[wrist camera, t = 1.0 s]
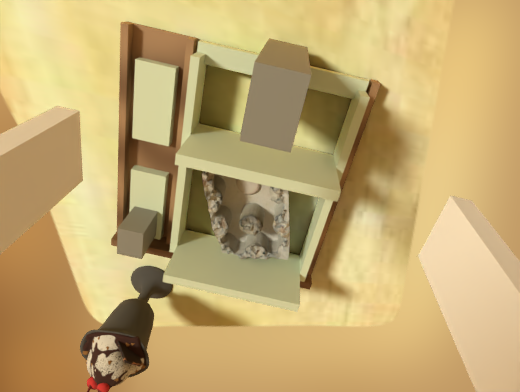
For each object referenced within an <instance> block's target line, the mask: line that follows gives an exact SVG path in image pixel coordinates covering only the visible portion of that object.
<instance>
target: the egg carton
mask: <svg viewBox="0 0 520 392" xmlns="http://www.w3.org/2000/svg"><path fill="white" fill-rule="evenodd" d="M202 178H203V186H204V193H205V197H206V200H207V201H208V210H209V213H210V218H211V224H212V229H213V231H214V233H215V236H216V238H217V239H218V242H219V244H220V245H221V248H222V253H227V254H230V253H232V254H235V255H237V256H239V257H240V258H241V259H245V258H249V257H250V258H254V259H258V258H260V259H266V260H267V259H269V258H272V257H274V258H276V259H284V260H287V259H288V257H289V247H290V225H289V193H288V190H284V189H279V188H275V187H270V186H266V185H262V184H257V183H253V182H249V181H244V180H240V179H236V178H231V177H227V176H222V175H218V174H214V173H209V172H205V171H203V172H202Z"/></svg>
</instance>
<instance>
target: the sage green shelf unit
mask: <svg viewBox="0 0 520 392" xmlns="http://www.w3.org/2000/svg"><path fill="white" fill-rule="evenodd" d="M206 65H210V66H214V67H219V68H223V69H227V70H231V71H236V72H240V73H244V74H248V75H252V78H251V83H250V88H249V93H248V99H247V104H246V109H245V114H244V120H243V125H242V130H241V133H238V132H234V131H230V130H225V129H221V128H217V127H212V126H208V125H204V124H199V119H200V112H201V104H202V96H203V89H204V81H205V73H206ZM368 84H369V81H368V79H365V78H360V77H356V76H352V75H348V74H343V73H339V72H335V71H331V70H326V69H322V68H318V67H314V66H310V62H309V55H308V49H307V47H303V46H299V45H295V44H291V43H286V42H282V41H278V40H274V39H269V40H268V42H267V43H266V45H265V46H264V48H263V49H262V51H261V52H260V54H259V53H254V52H250V51H246V50H242V49H238V48H233V47H229V46H225V45H221V44H216V43H212V42H208V41H204V40H200V41H198V47H197V52H196V53H194V54H192V55H191V56H190V65H189V75H188V84H187V93H186V102H185V112H184V121H183V130H182V139H181V148H180V149H179V150H178V151H177V153H176V157H175V165H179V167H178V176H177V186H176V195H175V204H174V213H173V223H172V232H171V241H170V250H169V252H173V253H174V254H173V256H172V258H171V260H170V262H169V264H168V266H167V268H166V270H165V272H164V274H163V282H165V283H170V284H174V285H179V286H183V287H188V288H192V289H197V290H201V291H206V292H210V293H215V294H219V295H224V296H228V297H233V298H237V299H242V300H246V301H251V302H255V303H260V304H264V305H269V306H273V307H278V308H282V309H287V310H291V311H296V312H298V309H299V306H300V281H302V282H304V281H305V279H306V276H307V273H308V270H309V267H310V265H311V262H312V259H313V256H314V253H315V251H316V248H317V245H318V242H319V239H320V237H321V234H322V231H323V228H324V225H325V223H326V220H327V217H328V214H329V211H330V208H331V206H332V203H333V201H336V202H338V199H339V196H340V193H341V189H340V184H339V183H340V180H341V178H342V175H343V172H344V169H345V166H346V164H347V161H348V158H349V155H350V152H351V150H352V147H353V144H354V141H355V138H356V136H357V133H358V130H359V127H360V124H361V122H362V119H363V116H364V113H365V110H366V107H367V105H368V102H369V99H370V97H369V96H368V94H367V93H366V90H367V87H368ZM308 89H312V90H316V91H321V92H325V93H329V94H334V95H338V96H342V97H346V98H351V99H352V100H351V103H350V106H349V109H348V112H347V115H346V118H345V121H344V124H343V127H342V130H341V133H340V136H339V139H338V142H337V145H336V148H335V151H334V154H329V153H325V152H320V151H316V150H312V149H307V148H303V147H299V146H294V145H293V142H294V138H295V135H296V131H297V127H298V123H299V120H300V116H301V112H302V109H303V105H304V101H305V97H306V94H307V90H308ZM193 169H196V170H201V171H205V172H209V173H214V174H218V175H222V176H227V177H231V178H236V179H240V180H244V181H249V182H253V183H257V184H262V185H266V186H270V187H275V188H279V189H284V190H288V191H292V192H297V193H301V194H305V195H310V196H314V197H319V199H318V202H317V205H316V208H315V211H314V214H313V217H312V220H311V223H310V226H309V229H308V232H307V235H306V238H305V241H304V244H303V247H302V250H301V253H300V255H297V254H292V253H289V257H288V259H287V260H284V259H276V258H274V257H272V258H269V259H267V260H266V259H260V258H258V259H254V258H250V257H249V258H245V259H241V258H240V257H239V256H237V255H235V254H232V253H230V254H227V253H222V248H221V245H220V244H219V242H218V239H217V238H216V236H212V235H208V234H203V233H199V232H195V231H190V230H186V229H185V227H186V219H187V211H188V204H189V196H190V188H191V181H192V173H193Z"/></svg>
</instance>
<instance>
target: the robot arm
mask: <svg viewBox="0 0 520 392" xmlns="http://www.w3.org/2000/svg"><path fill="white" fill-rule="evenodd" d="M82 181H83V176H82V156H81V135H80V115H79V111H77V110H73V109H69V108H64V107H60V106H56V107H54V108H52V109H50V110H48V111H46V112H44V113H42V114H40V115H38V116H36V117H34V118H32V119H30V120H28V121H26V122H24V123H22V124H20V125H18V126H16V127H14V128H12V129H10V130H8V131H6V132H4V133H2V134H0V254H1V253H2V252H4V251H5V250H6V249H7V248H8V247H9V246H10V245H11V244H13V243H14V242H15V241H16V240H17V239H18V238H19V237H20V236H21V235H23V233H25V232H26V231H27V230H28V229H29V228H30V227H31V226H33V225H34V223H36V222H37V221H38V220H39V219H40V218H41V217H43V216H44V215H45V214H46V213H47V212H48V211H49V210H50V209H52V208H53V207H54V206H55V205H56V204H57V203H58V202H59V201H60V200H62V199H63V198H64V197H65V196H66V195H67V194H68V193H69V192H70V191H72V190H73V189H74V188H75V187H76V186H77V185H78V184H79V183H80V182H82ZM418 258H419V260H420V262H421V265H422V267H423V269H424V271H425V274H426V276H427V279H428V281H429V283H430V286H431V288H432V290H433V293H434V295H435V297H436V300H437V302H438V304H439V307H440V309H441V311H442V314H443V316H444V318H445V321H446V323H447V325H448V327H449V330H450V332H451V334H452V337H453V339H454V341H455V344H456V346H457V348H458V351H459V353H460V355H461V358H462V360H463V362H464V365H465V367H466V369H467V372H468V374H469V376H470V378H471V381H472V383H473V385H474V388H475V390H476V392H520V261H519V260H518V259H517V257H516V256H515V255H514V253H513V252H512V251H511V250H510V249H509V247H508V246H507V245H506V243H505V242H504V241H503V240H502V238H501V237H500V236H499V234H498V233H497V232H496V231H495V229H494V228H493V227H492V226H491V224H490V223H489V222H488V220H487V219H486V218H485V217H484V215H483V214H482V213H481V212H480V210H479V209H478V208H477V207H476V206H475V204H474V203H473V202H472V201H471V200H467V199H463V198H458V197H454V196H450V198H449V199H448V201H447V203H446V205H445V207H444V209H443V210H442V212H441V214H440V216H439V218H438V220H437V221H436V223H435V225H434V227H433V229H432V231H431V232H430V234H429V236H428V238H427V240H426V242H425V243H424V245H423V247H422V249H421V251H420V253H419V254H418Z"/></svg>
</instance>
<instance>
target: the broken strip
mask: <svg viewBox="0 0 520 392" xmlns="http://www.w3.org/2000/svg"><path fill="white" fill-rule="evenodd" d="M178 74H179V66H175V65H171V64H167V63H162V62H158V61H154V60H150V59H145V58H141V57H139V58H137V59H135V76H134V103H133V129H132V138H134V139H138V140H143V141H147V142H151V143H156V144H160V145H165V146H169V145H170V144H171V143H172V137H173V126H174V116H175V105H176V95H177V84H178ZM168 179H169V172H164V171H160V170H156V169H151V168H147V167H142V166H138V165H134V166H133V168H132V169H131V183H130V209H129V214H128V215H127V217H126V218H125V219H124V220H123V222H122V223H121V224H120V226H119V227H118V231H117V254H122V255H126V256H130V257H135V258H139V259H142V258H143V256H144V254H145V253H146V251H147V249H148V248H149V246H150V244H151V242H152V241H153V239H158V240H160V239H161V238H162V236H163V232H164V221H165V211H166V200H167V190H168Z"/></svg>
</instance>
